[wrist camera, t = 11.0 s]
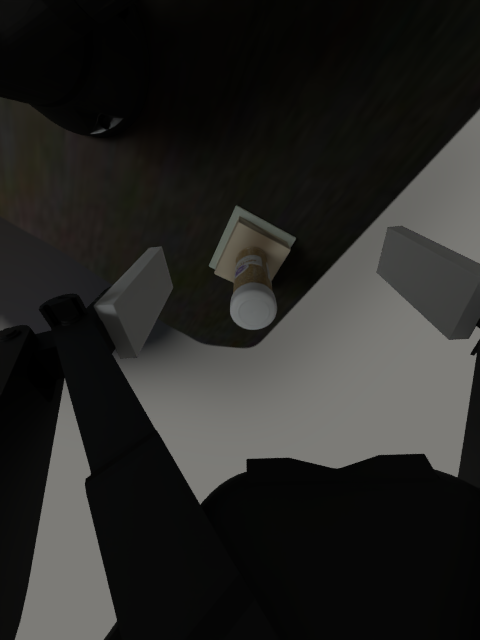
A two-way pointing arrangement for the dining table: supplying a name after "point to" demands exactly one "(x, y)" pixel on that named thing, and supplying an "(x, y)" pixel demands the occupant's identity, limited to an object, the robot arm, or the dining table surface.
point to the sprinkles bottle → (252, 291)
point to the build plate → (255, 220)
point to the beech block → (251, 237)
